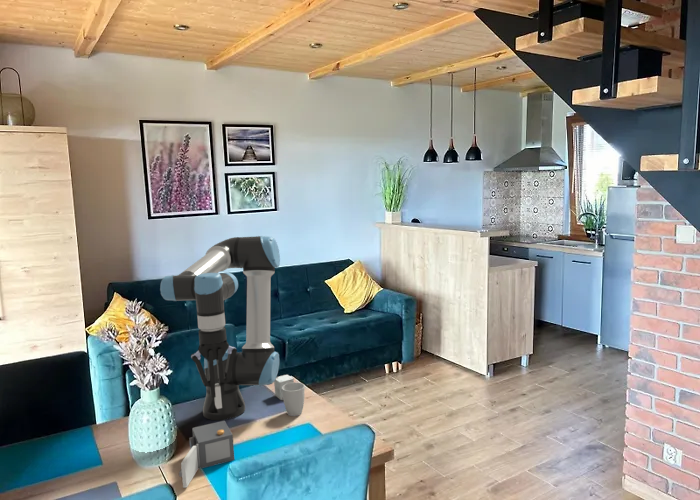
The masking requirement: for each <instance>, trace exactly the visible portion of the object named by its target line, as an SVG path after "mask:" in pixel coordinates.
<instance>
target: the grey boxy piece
mask: <svg viewBox="0 0 700 500" xmlns="http://www.w3.org/2000/svg"><path fill="white" fill-rule="evenodd" d="M191 429H192V437H189V438H188V439H189V441H188V442H189V450H190V449H191V448H192V447H193V446H196V444H198V447H199V459H200V468H199V469H201V470H202V469H204V468H208V467H213V466H215V465H221V464H225V463H228V462H231V461H235V448H234V436H233V433H232V431H231V429H230V427H229V426H228V424H227V422H226V421H225V420H219V421H217V422H216V421H215V422H212V423H208V424H204V425H203V424H202V425H198V426H195V427H192V428H191Z"/></svg>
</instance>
